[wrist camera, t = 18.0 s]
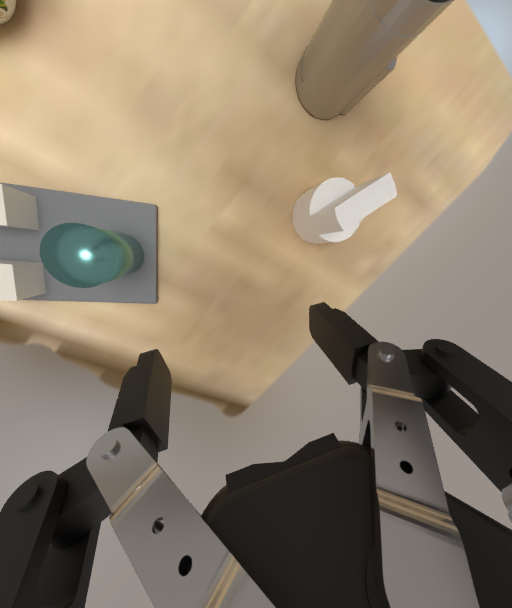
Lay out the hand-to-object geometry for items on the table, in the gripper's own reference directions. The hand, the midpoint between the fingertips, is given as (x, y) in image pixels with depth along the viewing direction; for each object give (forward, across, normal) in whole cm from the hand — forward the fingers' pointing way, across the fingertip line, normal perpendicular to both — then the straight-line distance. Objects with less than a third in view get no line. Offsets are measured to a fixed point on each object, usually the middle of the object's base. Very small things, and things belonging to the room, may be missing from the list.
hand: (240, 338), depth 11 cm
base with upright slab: (+28, -19, +2) cm, 34 cm away
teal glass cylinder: (+25, +12, 0) cm, 27 cm away
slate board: (+27, +17, -1) cm, 31 cm away
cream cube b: (+27, +21, -6) cm, 35 cm away
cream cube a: (+24, +24, +1) cm, 34 cm away
